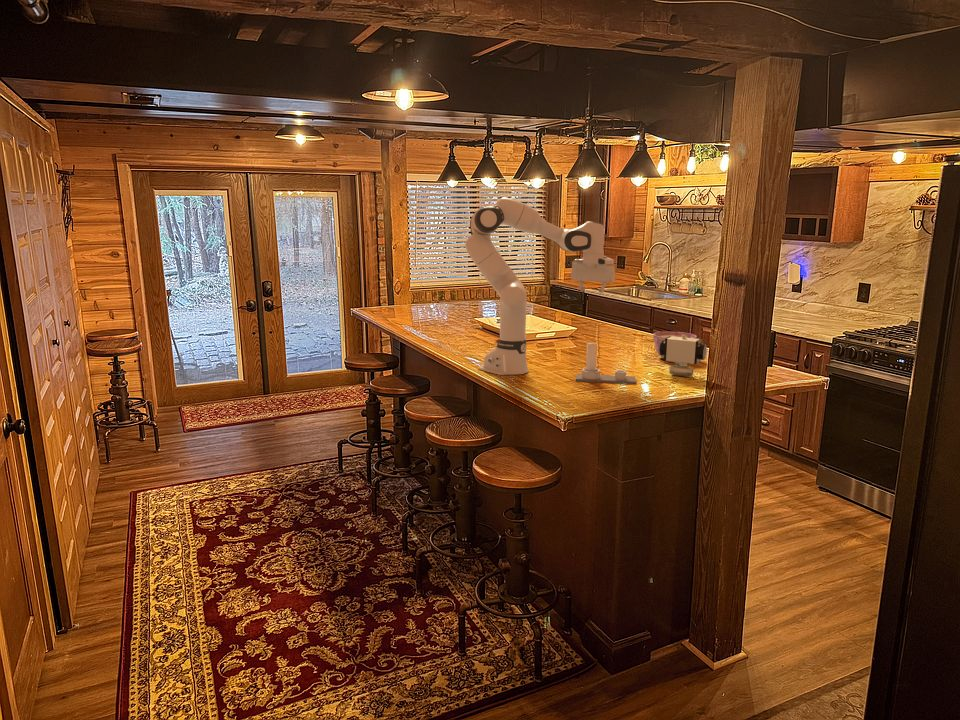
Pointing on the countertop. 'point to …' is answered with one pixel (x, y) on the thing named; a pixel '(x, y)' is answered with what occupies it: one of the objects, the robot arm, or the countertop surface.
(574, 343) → the countertop surface
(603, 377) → the plate
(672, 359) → the ball valve
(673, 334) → the clear bowl
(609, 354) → the countertop surface
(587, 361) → the pvc pipe
